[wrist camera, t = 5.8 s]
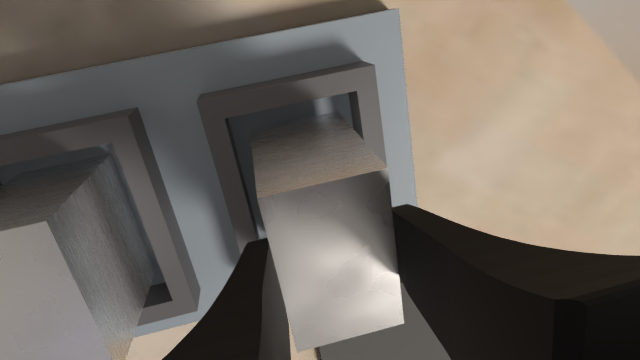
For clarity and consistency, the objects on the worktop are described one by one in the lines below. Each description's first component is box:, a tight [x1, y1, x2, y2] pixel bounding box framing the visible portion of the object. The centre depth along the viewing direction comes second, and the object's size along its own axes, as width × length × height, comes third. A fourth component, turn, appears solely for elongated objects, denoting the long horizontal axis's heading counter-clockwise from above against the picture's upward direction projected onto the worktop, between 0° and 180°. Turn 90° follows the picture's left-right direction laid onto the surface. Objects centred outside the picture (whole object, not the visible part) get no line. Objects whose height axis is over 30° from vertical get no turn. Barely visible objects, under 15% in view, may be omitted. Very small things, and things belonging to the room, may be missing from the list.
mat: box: [319, 279, 451, 360], centre depth 24 cm, size 9×9×1 cm
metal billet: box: [250, 111, 404, 352], centre depth 15 cm, size 4×6×6 cm, turn 10°
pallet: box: [0, 9, 417, 338], centre depth 18 cm, size 19×12×3 cm, turn 100°
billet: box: [0, 154, 156, 360], centre depth 15 cm, size 4×6×6 cm, turn 10°
